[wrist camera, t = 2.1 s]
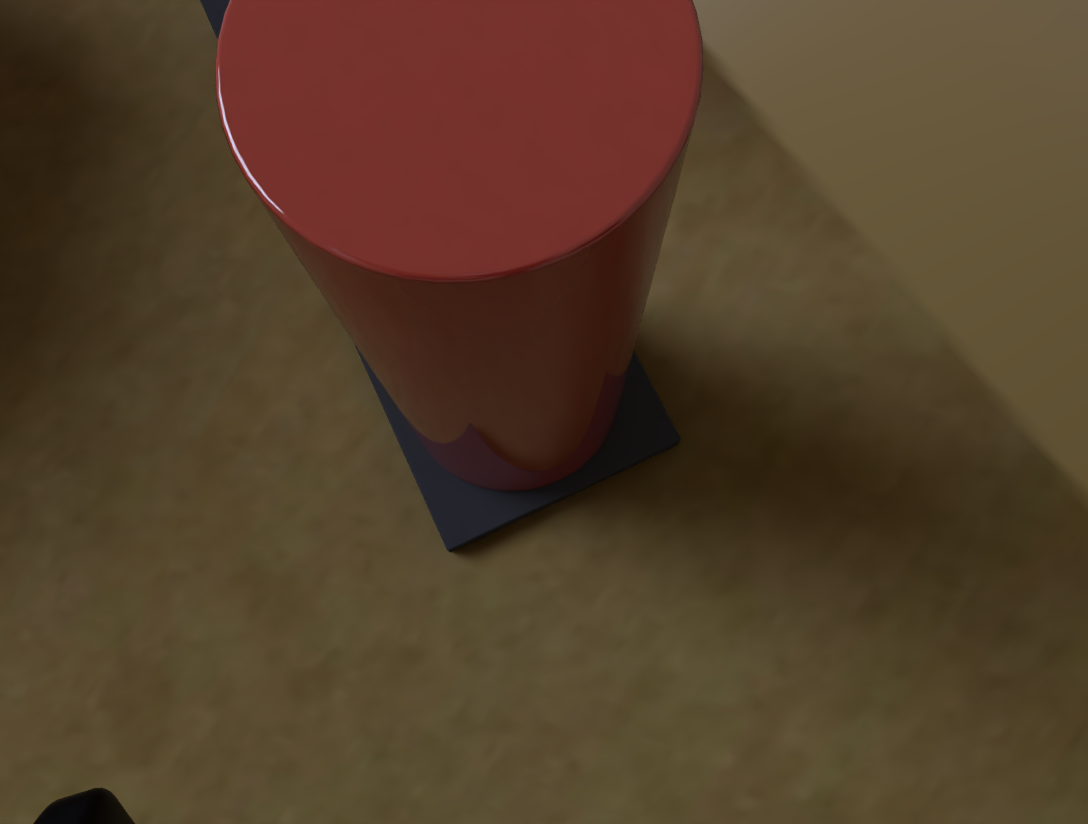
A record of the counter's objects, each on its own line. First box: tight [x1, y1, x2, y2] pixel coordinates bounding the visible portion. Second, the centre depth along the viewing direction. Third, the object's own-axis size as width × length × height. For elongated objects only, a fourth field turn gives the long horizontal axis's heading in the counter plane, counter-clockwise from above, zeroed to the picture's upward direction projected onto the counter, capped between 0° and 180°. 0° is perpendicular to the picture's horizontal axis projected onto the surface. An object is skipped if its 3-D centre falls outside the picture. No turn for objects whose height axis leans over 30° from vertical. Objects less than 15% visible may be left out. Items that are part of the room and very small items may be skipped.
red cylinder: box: [215, 0, 704, 491], centre depth 15 cm, size 5×5×12 cm
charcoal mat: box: [200, 0, 681, 552], centre depth 22 cm, size 19×6×1 cm, turn 26°
